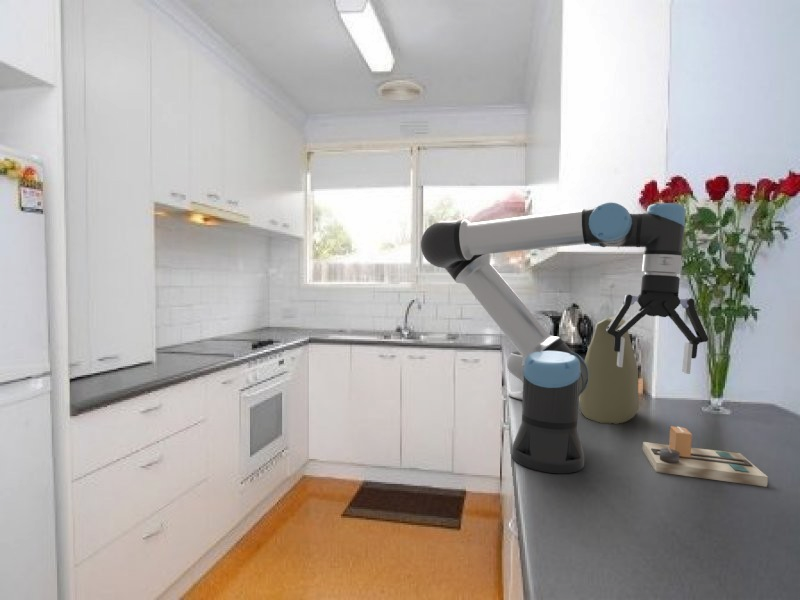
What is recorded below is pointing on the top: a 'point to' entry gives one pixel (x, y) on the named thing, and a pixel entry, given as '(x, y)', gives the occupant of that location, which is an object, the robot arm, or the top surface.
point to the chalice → (516, 371)
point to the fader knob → (680, 441)
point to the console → (704, 464)
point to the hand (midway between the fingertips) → (652, 369)
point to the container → (610, 379)
